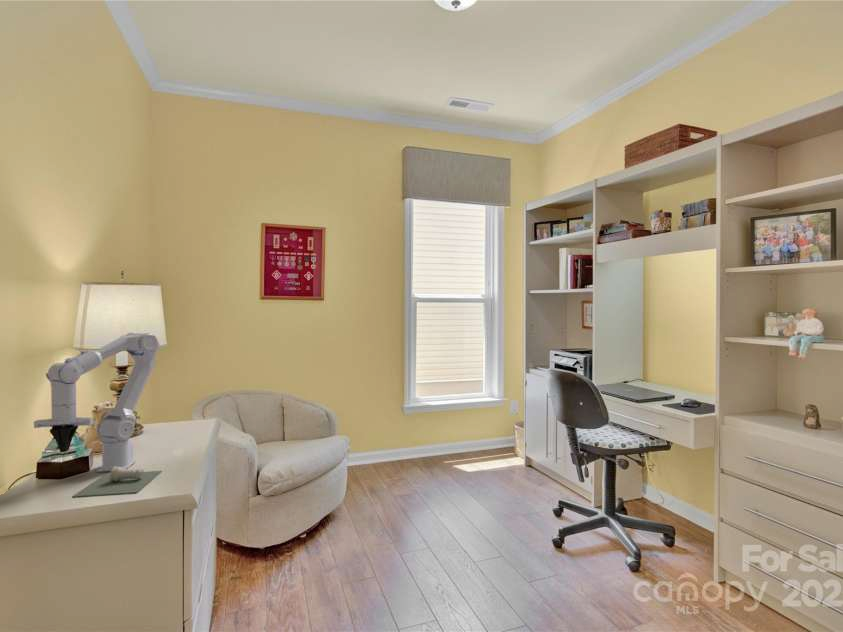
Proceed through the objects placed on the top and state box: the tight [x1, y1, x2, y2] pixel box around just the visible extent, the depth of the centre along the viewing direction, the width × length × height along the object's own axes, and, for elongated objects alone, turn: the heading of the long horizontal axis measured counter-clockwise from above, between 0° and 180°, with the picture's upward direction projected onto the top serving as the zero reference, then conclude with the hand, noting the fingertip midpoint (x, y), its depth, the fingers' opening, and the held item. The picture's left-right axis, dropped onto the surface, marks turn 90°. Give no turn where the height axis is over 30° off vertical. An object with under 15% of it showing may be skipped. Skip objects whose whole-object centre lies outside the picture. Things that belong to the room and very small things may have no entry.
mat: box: [71, 470, 163, 498], centre depth 137 cm, size 18×16×1 cm
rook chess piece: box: [109, 466, 145, 482], centre depth 139 cm, size 4×4×8 cm
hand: (64, 451), depth 137 cm, fingers closed
